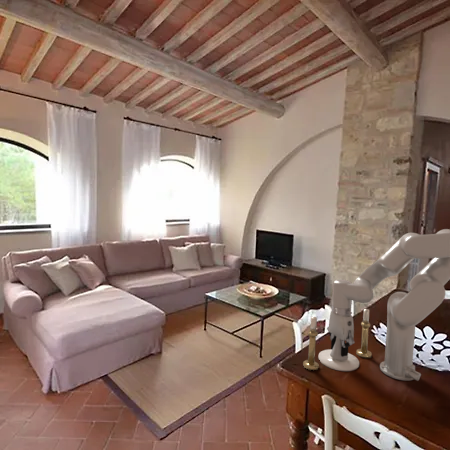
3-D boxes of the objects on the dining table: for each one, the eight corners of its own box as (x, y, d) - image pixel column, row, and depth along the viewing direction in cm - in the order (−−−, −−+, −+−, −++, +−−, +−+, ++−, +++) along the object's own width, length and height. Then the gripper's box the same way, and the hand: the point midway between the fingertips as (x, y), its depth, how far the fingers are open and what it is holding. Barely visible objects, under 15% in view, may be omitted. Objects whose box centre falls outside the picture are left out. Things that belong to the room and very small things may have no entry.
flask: (349, 362, 127) (350, 338, 126) (330, 360, 129) (332, 336, 128) (346, 353, 134) (347, 330, 133) (328, 351, 136) (329, 329, 135)
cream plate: (368, 366, 127) (368, 364, 127) (336, 374, 121) (336, 372, 121) (339, 348, 142) (339, 347, 142) (310, 354, 136) (310, 353, 136)
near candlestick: (321, 368, 125) (325, 319, 124) (310, 371, 122) (313, 321, 121) (311, 361, 130) (314, 314, 129) (299, 364, 128) (303, 315, 126)
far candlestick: (374, 356, 135) (377, 311, 133) (363, 359, 133) (366, 313, 131) (363, 350, 141) (366, 306, 139) (353, 352, 139) (355, 308, 137)
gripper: (364, 316, 123) (362, 360, 125) (334, 302, 139) (332, 342, 141) (349, 318, 120) (347, 364, 122) (320, 304, 136) (318, 344, 138)
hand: (339, 351), depth 131 cm, fingers closed on flask, 5 cm apart
